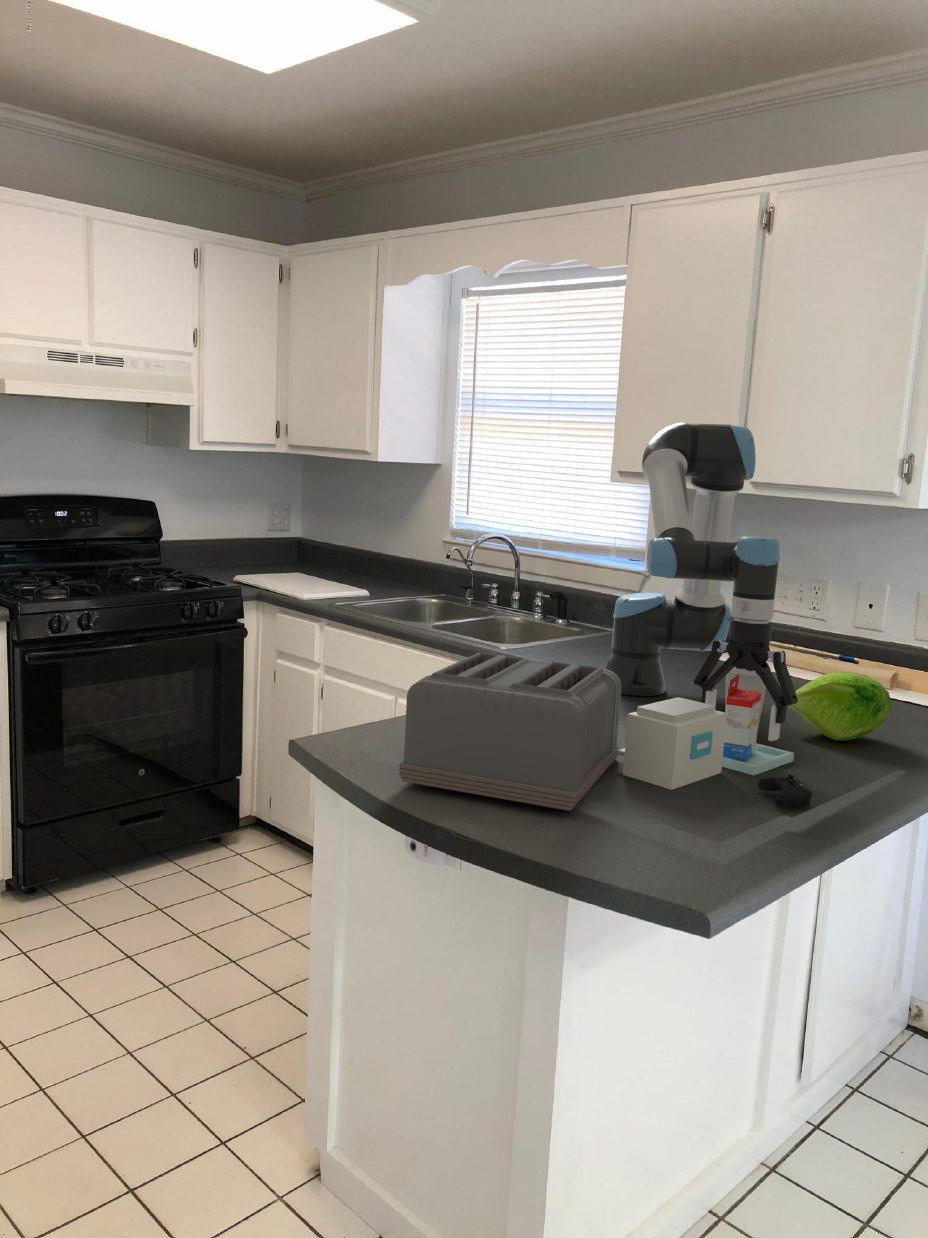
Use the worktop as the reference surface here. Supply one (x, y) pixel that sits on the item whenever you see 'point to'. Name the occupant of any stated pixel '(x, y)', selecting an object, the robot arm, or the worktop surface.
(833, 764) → the worktop surface
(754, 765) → the tray
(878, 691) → the lettuce
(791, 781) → the gaming controller
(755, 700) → the ink box
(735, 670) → the coffee cup
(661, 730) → the white lidded box
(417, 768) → the toaster
